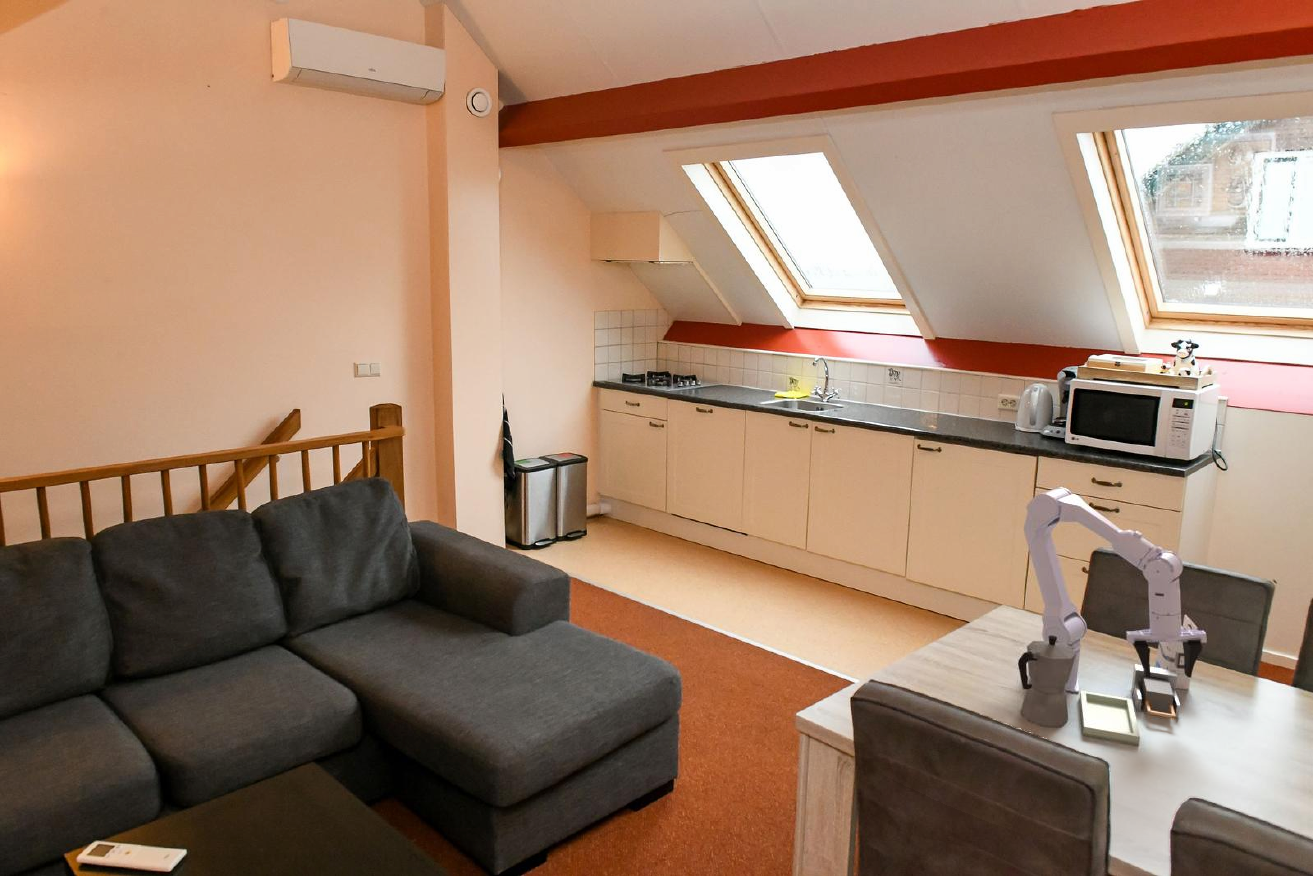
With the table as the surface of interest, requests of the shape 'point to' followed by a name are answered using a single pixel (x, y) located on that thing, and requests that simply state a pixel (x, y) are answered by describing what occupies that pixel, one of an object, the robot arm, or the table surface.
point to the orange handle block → (1157, 697)
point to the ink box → (1175, 656)
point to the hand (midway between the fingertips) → (1167, 675)
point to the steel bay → (1155, 674)
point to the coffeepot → (1046, 681)
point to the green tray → (1108, 718)
